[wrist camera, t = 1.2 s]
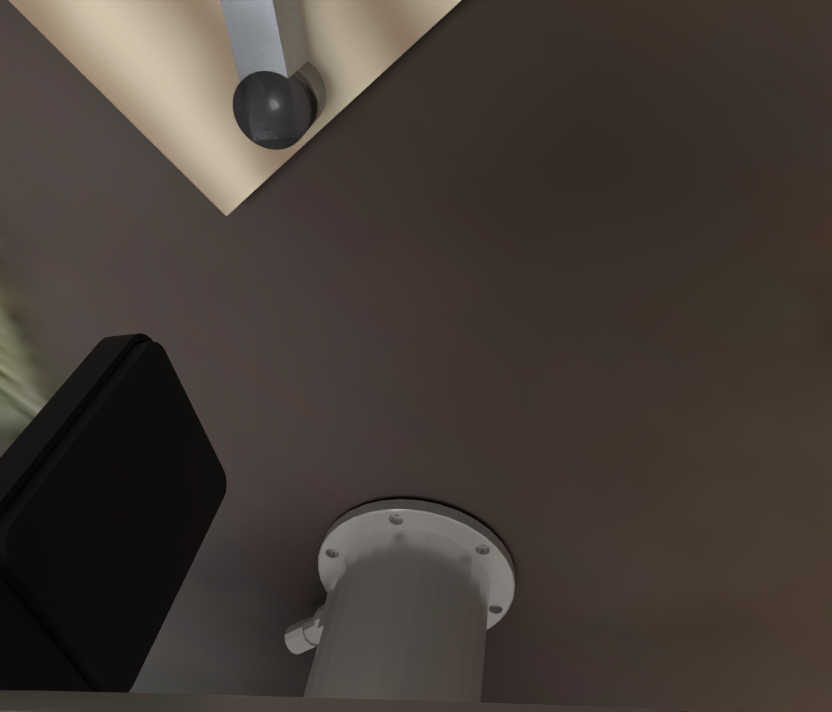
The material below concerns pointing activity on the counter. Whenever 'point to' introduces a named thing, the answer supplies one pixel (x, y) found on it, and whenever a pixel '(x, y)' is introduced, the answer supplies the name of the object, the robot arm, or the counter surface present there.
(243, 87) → the lever
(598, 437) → the counter surface
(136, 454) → the robot arm
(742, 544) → the counter surface
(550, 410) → the counter surface
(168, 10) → the wooden cutting board
